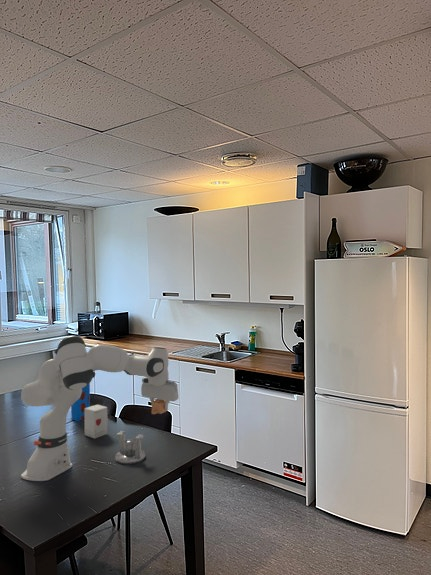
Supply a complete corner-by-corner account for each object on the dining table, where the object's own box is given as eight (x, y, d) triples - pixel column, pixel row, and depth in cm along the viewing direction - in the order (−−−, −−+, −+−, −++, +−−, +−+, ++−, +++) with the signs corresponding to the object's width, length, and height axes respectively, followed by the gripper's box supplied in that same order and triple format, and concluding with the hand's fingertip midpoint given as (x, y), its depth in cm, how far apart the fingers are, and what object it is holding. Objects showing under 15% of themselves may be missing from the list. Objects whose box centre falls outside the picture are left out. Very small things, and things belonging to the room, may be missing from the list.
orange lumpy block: (170, 409, 213) (170, 398, 213) (157, 415, 204) (157, 403, 203) (161, 407, 216) (161, 396, 216) (148, 413, 206) (148, 402, 206)
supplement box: (94, 439, 226) (94, 411, 226) (84, 435, 232) (83, 408, 231) (108, 434, 233) (107, 406, 233) (97, 430, 239) (97, 404, 239)
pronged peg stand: (137, 465, 194) (137, 441, 193) (109, 462, 197) (109, 438, 197) (149, 453, 207) (149, 430, 207) (123, 450, 211) (122, 428, 210)
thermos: (70, 416, 263) (70, 376, 262) (88, 414, 267) (88, 374, 267) (72, 422, 253) (72, 380, 252) (91, 419, 258) (90, 378, 257)
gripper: (180, 380, 207) (181, 408, 208) (147, 376, 217) (147, 403, 217) (173, 383, 202) (173, 412, 202) (139, 378, 211) (139, 406, 212)
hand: (159, 407), depth 210 cm, fingers closed on orange lumpy block, 6 cm apart
